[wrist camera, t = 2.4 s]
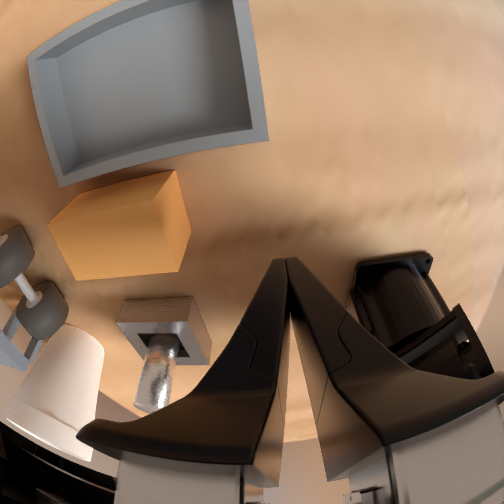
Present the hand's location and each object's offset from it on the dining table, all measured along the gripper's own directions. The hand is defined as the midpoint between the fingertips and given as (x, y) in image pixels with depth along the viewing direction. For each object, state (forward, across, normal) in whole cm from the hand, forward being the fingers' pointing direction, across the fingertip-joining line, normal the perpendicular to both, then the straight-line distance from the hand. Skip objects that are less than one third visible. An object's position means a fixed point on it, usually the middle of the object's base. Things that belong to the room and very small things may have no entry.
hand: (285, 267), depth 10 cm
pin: (+6, +10, +10) cm, 16 cm away
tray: (+6, +6, -8) cm, 11 cm away
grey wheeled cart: (+6, +23, +3) cm, 24 cm away
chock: (+7, +9, 0) cm, 11 cm away
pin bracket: (+6, +10, +10) cm, 16 cm away
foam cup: (+7, +23, +14) cm, 27 cm away
